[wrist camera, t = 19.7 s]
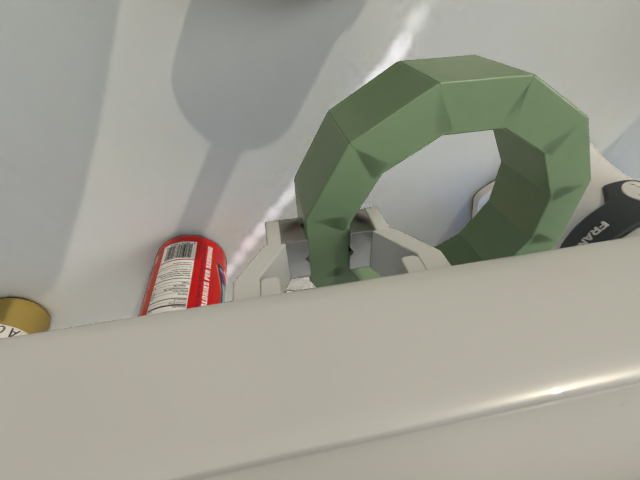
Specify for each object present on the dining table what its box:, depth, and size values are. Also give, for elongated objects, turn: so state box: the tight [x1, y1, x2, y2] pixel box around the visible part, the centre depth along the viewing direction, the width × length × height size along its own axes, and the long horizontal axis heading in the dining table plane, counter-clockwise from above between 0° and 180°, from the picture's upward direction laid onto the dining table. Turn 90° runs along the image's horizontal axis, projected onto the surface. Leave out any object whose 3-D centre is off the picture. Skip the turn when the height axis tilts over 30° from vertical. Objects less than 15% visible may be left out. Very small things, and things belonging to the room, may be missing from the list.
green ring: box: [294, 55, 591, 288], centre depth 14 cm, size 11×11×3 cm
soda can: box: [138, 235, 227, 316], centre depth 34 cm, size 8×8×15 cm
